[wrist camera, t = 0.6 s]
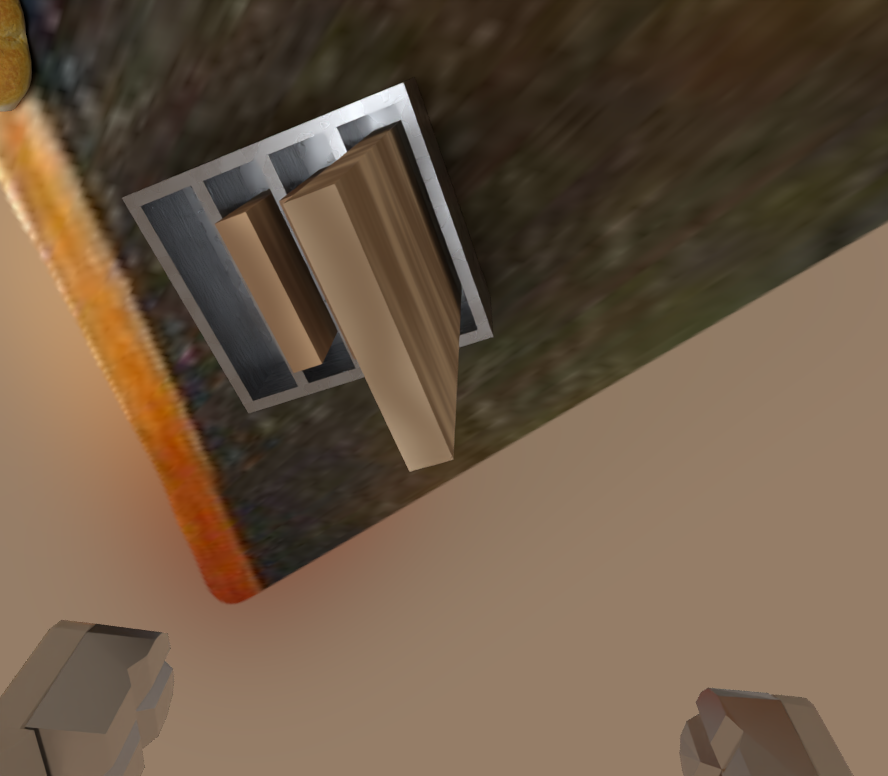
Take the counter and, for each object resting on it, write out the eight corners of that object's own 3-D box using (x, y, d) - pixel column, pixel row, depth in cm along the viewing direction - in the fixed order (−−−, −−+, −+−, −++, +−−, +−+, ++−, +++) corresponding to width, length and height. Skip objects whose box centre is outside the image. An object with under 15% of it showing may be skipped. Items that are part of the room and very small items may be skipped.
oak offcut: (287, 181, 43) (245, 211, 35) (347, 311, 47) (322, 363, 39) (262, 191, 43) (214, 223, 35) (323, 319, 47) (293, 373, 40)
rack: (414, 77, 41) (403, 82, 34) (490, 296, 48) (493, 336, 41) (174, 175, 44) (122, 197, 38) (277, 366, 51) (248, 413, 45)
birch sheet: (401, 119, 41) (334, 183, 21) (462, 286, 46) (453, 459, 26) (373, 130, 41) (282, 203, 22) (436, 294, 46) (409, 471, 27)
